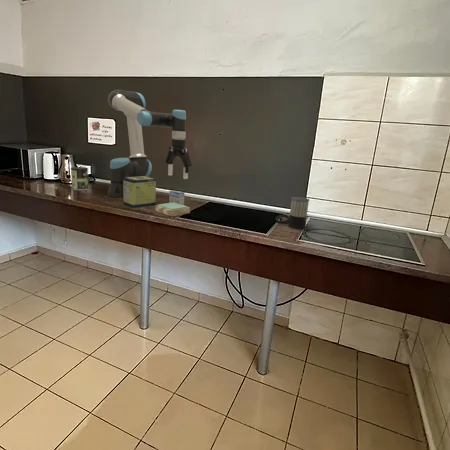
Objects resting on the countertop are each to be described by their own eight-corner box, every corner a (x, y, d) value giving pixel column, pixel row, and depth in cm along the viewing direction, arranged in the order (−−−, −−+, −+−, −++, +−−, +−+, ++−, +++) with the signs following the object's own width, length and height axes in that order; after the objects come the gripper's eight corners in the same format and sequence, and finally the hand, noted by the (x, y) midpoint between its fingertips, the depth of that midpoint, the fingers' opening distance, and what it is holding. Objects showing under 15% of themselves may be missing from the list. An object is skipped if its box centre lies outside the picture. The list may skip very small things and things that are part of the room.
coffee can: (91, 188, 227) (90, 167, 223) (84, 191, 217) (83, 169, 213) (76, 187, 227) (75, 166, 223) (69, 189, 217) (67, 168, 213)
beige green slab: (155, 210, 181) (155, 205, 180) (173, 207, 191) (173, 202, 190) (171, 216, 172) (171, 210, 172) (190, 213, 182) (190, 207, 181)
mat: (157, 205, 180) (157, 204, 180) (173, 203, 188) (173, 202, 188) (171, 210, 173) (171, 209, 173) (187, 207, 181) (187, 206, 181)
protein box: (156, 204, 195) (156, 178, 191) (133, 207, 184) (133, 180, 180) (145, 201, 202) (145, 175, 198) (122, 204, 191) (122, 177, 186)
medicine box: (168, 205, 196) (169, 191, 193) (173, 204, 199) (173, 190, 197) (179, 207, 192) (180, 193, 190) (184, 206, 196) (184, 192, 194)
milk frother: (306, 230, 166) (310, 201, 162) (274, 226, 169) (277, 197, 164) (304, 223, 179) (308, 196, 175) (275, 219, 182) (278, 193, 178)
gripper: (159, 137, 190) (159, 174, 196) (188, 140, 174) (187, 180, 180) (169, 137, 196) (169, 173, 201) (198, 140, 180) (197, 179, 186)
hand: (177, 177), depth 191 cm, fingers open, 13 cm apart
